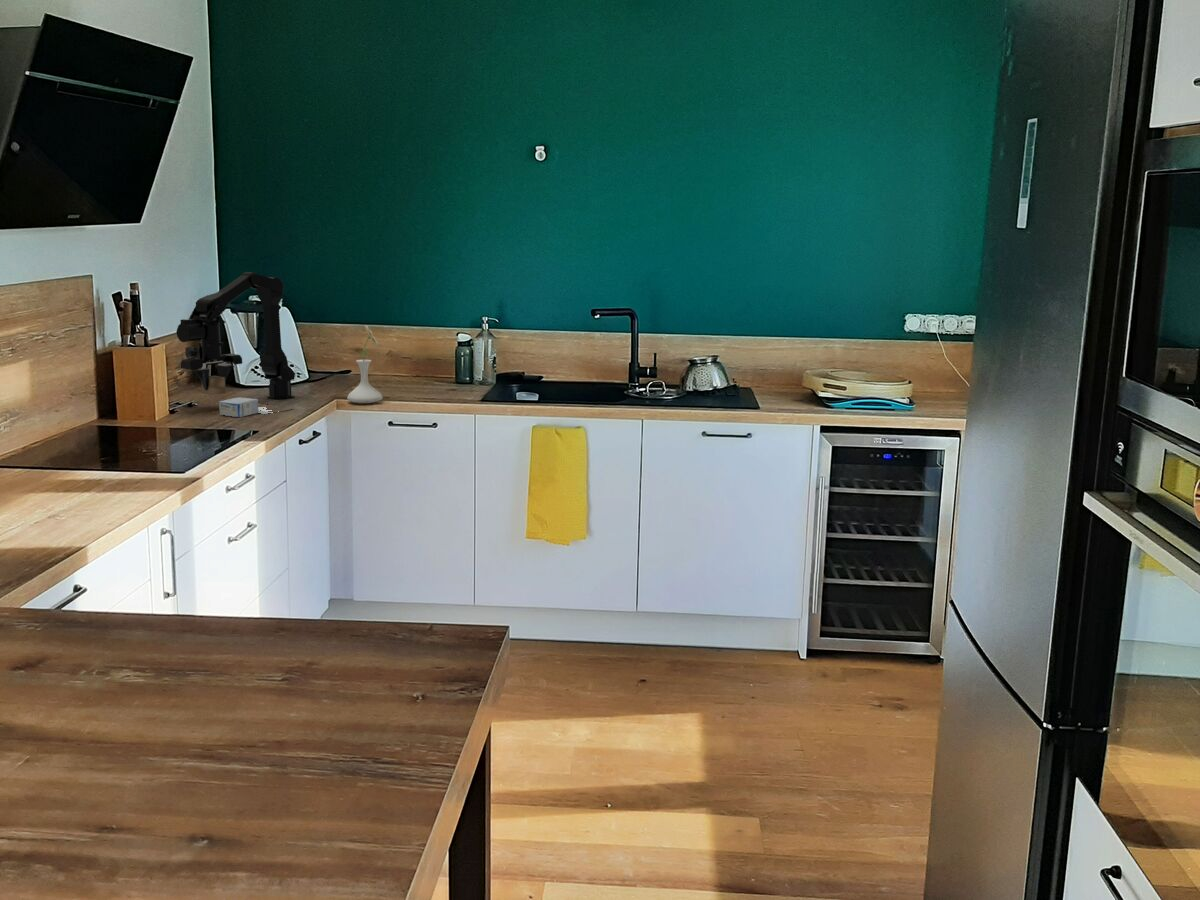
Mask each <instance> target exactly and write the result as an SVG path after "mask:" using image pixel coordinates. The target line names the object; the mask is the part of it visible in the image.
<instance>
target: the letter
mask: <svg viewBox="0 0 1200 900" xmlns="http://www.w3.org/2000/svg"><path fill="white" fill-rule="evenodd" d="M263 408H264V409H263ZM258 409H259V412H258V413H261V414H260V415H264V414H265V415H269V414H268V413H271V414H274V413H273V412H268V411H272V410H266V409H267V408H266V407H258ZM260 410H261V411H260ZM258 413H257V414H258ZM277 413H280V412H279V411H278V412H277Z"/></svg>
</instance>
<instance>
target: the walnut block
mask: <svg viewBox="0 0 1200 900" xmlns="http://www.w3.org/2000/svg"><path fill="white" fill-rule="evenodd" d="M200 383H201V382H200ZM201 394H204V395H208V396H209V395H210V396H215V395H221V394H222V395H223V394H226V381H225V377H220V376H218V375H211V376H210V375H209V385H208V390H205V389H204V387H203V385H202V383H201Z"/></svg>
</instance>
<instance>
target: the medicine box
mask: <svg viewBox="0 0 1200 900" xmlns="http://www.w3.org/2000/svg"><path fill="white" fill-rule="evenodd" d="M218 403H219V404H218V405H219V414H220V416H223V415H225V416H224V417H231V416H232V418H243V417H247V416H252V415H255V414H258V412H259V409H258V405H259V399H258V398H252V397H251V398H248V397H240V396H238V397H233V398H228V399H225V400H220V401H218Z"/></svg>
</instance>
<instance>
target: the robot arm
mask: <svg viewBox="0 0 1200 900" xmlns="http://www.w3.org/2000/svg"><path fill="white" fill-rule="evenodd" d="M249 289H253V290H256V296H257V298H258V299H259V301H260V303H261V305H262V309H263V310H262V312H263V327H264V328H263V329H264V338H265V339H264V340H265V341H264V342H265V343H264V344H265V350H264V352H263V354H259V361H260V363H259V367H260V368H261V371H262V373H263V374H264V377H265V379H266V380H269V384H268V392H269V393H268V394H269V395H267V398H268V397H270V398H269V399H273V398H276V399H275V400H284V399H283V398H286V399H290V398H289V397H292V398H295V395H292V380H295V378H296V372H295V371H294V370H293V369H292V368H291V367H290V366H289V362H288V358H287V355H286V353H285V352H284V350H283V349H282V337H281V335H282V333H281V320H280V319H281V318H280V303H281V302H282V301H281V300H282V298H283V296H284V283H283V281H282V280H281V279H280V278H278V277H271V276H264V275H261V274H258V273H255V272H250V271H249V272H248V271H245V272H243V273H242V274H241V275H240V276H238V277H237V278H235V279H234V280H232V281H231V282H230V283H228V284H227V285H226V286H224V287H222V288H221V289H220V290H218V291H216V292H215V293H211V294H207V295H204V296H203V297H200V298H198V299H197V300H196V302H195V306H194V308H193V310H192V312H191V313H190V316H189V318H188V319H184V318H183V319H180V321H179V322H180V323H179V324H178V325H177V329H176V332H175V333H176V337H177V339H178V341H180V342H182V343H188V342H198V344H197V347H195V348H194V346H186V347H185V348H184V349H185V351H184V353H185V357H186V358H183V359H181V362H180V368H181V369H183V370H190V371H193V372H195V373H196V375H197V376H198V378H199V380H200V383H202V384H201V386H202V385H203V387H204V389H205V390H208V385H209V376H210V369H209V368H207V366H211V365H214V366H215V368H216V370H217V376H220V377H225V382H226V380H227V378H228V376H229V374H230V372H231V370H232V369H233V368H234V367H235V366H234V365H242V364H243V357H242V355H241V354H237V353H228V354H227V353H226V354H222V347H223V346H224V342H223V341H222V342H221V330H220V325H222V324H223V325H224V324H226V321H225V320H224V319H222V318H221V315H222V314H223V313H224V312H225V311H226V309H227V306H228V305H230V303H231V302H233V301H234V300H235V299H236V298H238V297H239V296H241V295H242V294H244V293H245V292H246V291H248V290H249ZM199 341H200V342H199ZM232 364H233V365H232Z"/></svg>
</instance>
